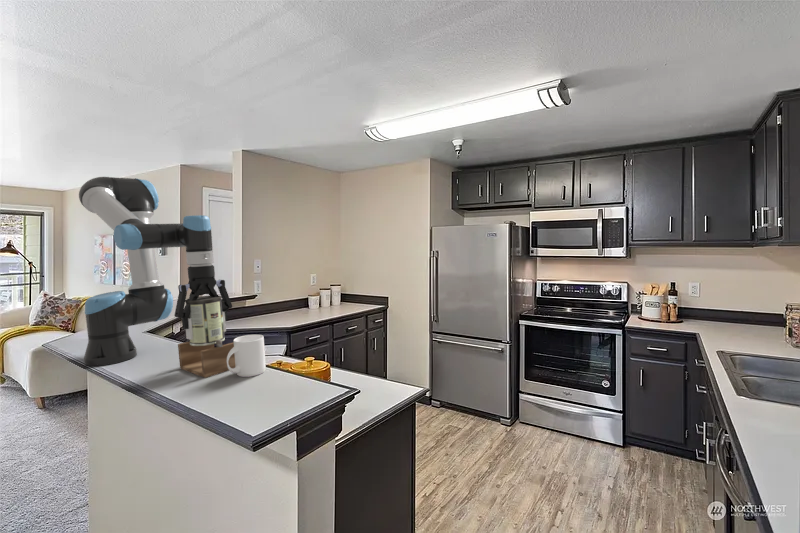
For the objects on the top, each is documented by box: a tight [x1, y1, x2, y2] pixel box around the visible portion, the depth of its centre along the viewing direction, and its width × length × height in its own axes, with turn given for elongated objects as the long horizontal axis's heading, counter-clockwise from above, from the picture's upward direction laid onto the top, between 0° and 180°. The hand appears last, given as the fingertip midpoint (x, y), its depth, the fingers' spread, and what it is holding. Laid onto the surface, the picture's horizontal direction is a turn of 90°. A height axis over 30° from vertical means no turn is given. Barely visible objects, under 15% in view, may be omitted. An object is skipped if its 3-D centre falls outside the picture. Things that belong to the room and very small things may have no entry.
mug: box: [227, 334, 266, 378], centre depth 122 cm, size 9×12×11 cm
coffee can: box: [185, 295, 226, 346], centre depth 128 cm, size 10×10×14 cm
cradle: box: [177, 340, 235, 379], centre depth 130 cm, size 16×11×10 cm
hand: (206, 334), depth 129 cm, fingers closed on coffee can, 10 cm apart
